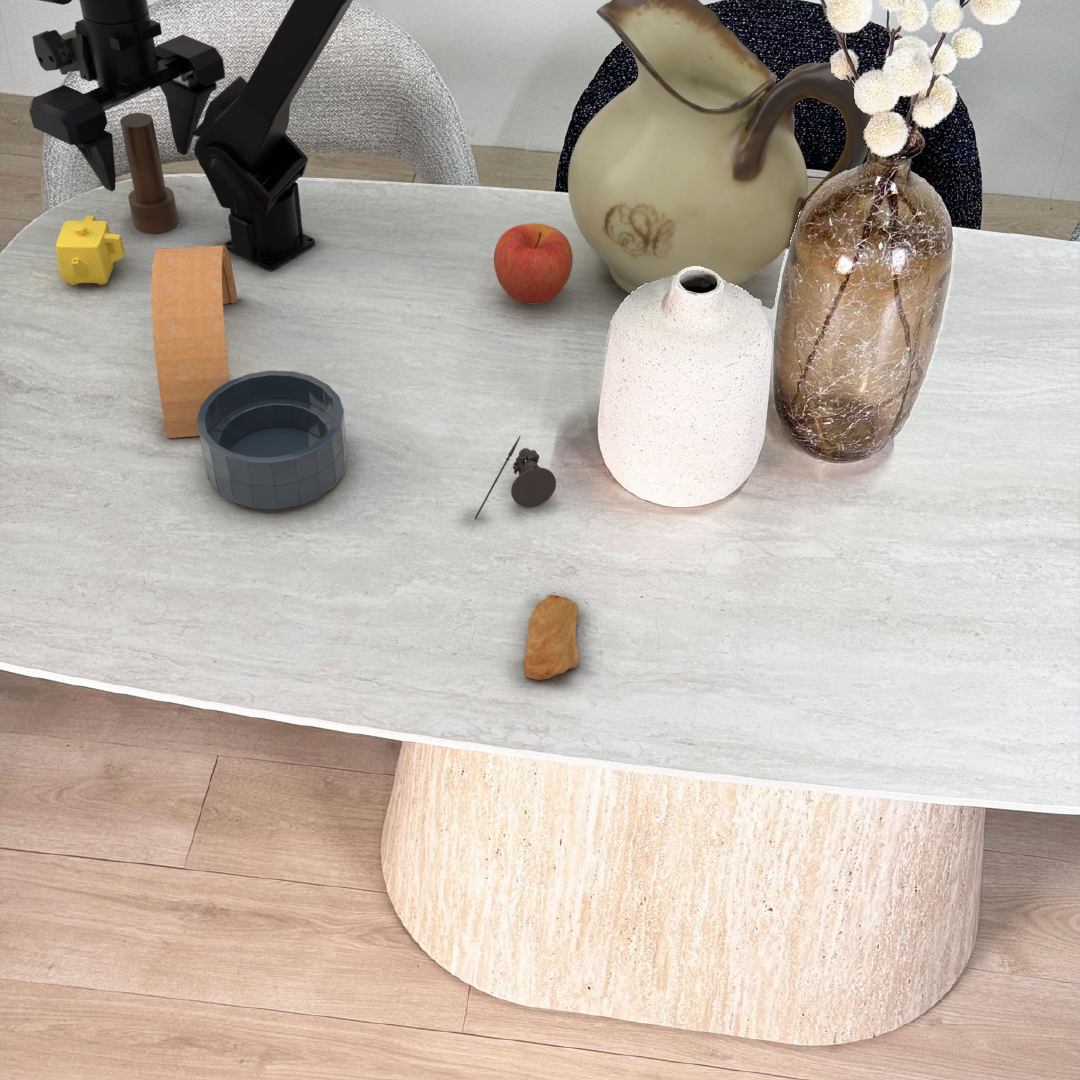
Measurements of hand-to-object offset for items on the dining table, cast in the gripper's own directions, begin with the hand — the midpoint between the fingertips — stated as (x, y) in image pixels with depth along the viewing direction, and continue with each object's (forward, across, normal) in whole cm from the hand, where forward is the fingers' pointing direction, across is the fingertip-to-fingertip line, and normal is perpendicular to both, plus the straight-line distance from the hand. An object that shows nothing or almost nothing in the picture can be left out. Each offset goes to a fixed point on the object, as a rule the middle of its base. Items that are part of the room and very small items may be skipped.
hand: (147, 171), depth 124 cm
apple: (+6, -13, +37) cm, 40 cm away
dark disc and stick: (+4, +10, +54) cm, 55 cm away
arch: (+6, +13, +21) cm, 25 cm away
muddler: (+6, 0, 0) cm, 6 cm away
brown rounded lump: (+5, +21, +61) cm, 65 cm away
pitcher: (+6, -26, +46) cm, 53 cm away
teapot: (+6, +10, +3) cm, 12 cm away
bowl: (+6, +19, +35) cm, 41 cm away
